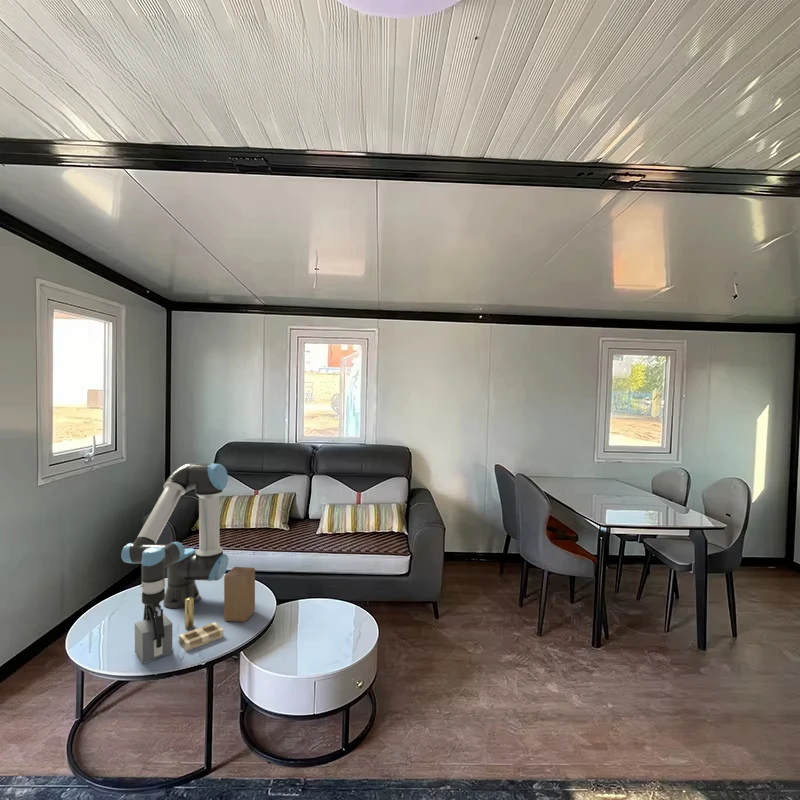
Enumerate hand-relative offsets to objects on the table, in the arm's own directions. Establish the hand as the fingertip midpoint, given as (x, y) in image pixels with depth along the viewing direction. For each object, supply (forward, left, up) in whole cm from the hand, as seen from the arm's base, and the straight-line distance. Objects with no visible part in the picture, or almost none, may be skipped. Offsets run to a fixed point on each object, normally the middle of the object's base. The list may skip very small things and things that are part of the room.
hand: (153, 648), depth 166 cm
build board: (+4, +16, -1) cm, 17 cm away
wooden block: (-3, +35, -2) cm, 35 cm away
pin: (-9, +16, -1) cm, 18 cm away
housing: (0, 0, -1) cm, 1 cm away
